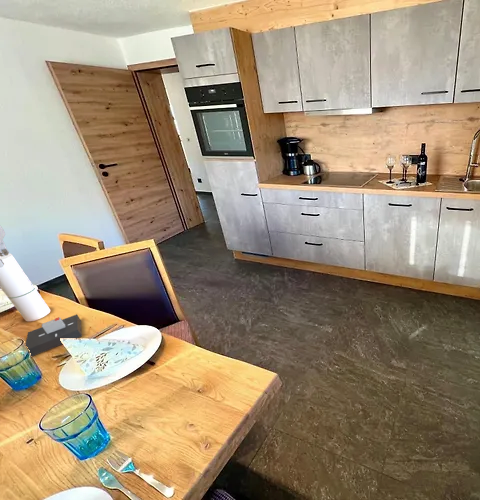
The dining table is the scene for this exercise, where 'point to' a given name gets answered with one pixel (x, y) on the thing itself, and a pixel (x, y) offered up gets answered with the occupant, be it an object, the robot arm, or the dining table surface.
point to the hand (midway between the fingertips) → (2, 260)
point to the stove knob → (53, 325)
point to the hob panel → (53, 336)
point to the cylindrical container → (21, 290)
